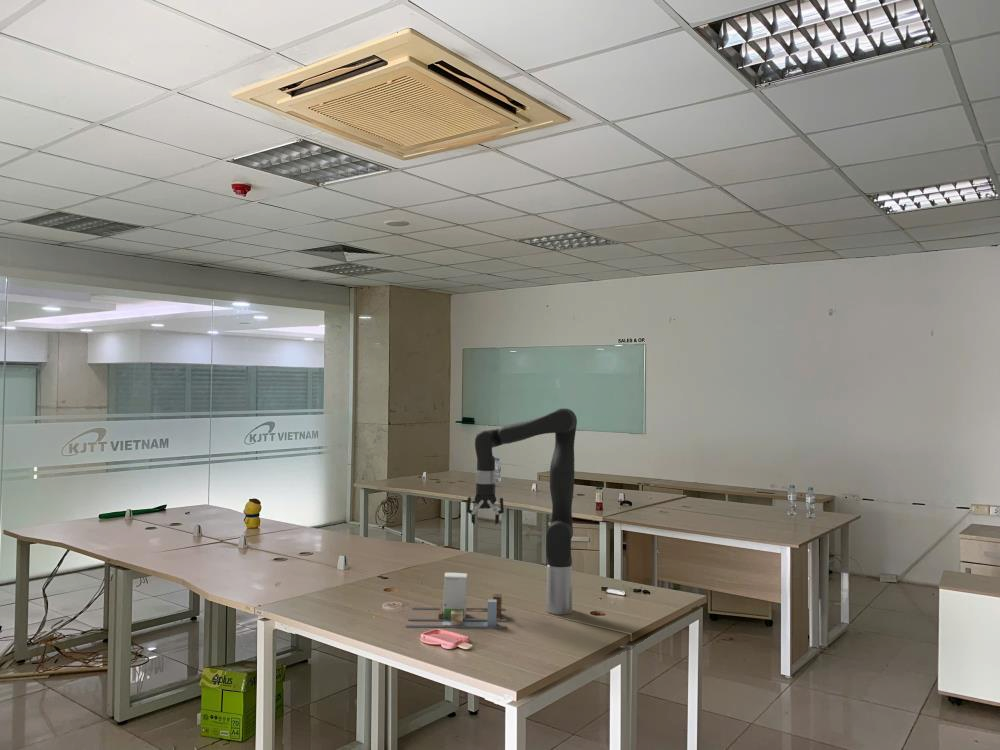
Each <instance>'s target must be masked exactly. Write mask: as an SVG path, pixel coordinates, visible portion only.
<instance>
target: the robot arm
mask: <svg viewBox="0 0 1000 750" xmlns="http://www.w3.org/2000/svg"><path fill="white" fill-rule="evenodd" d="M577 425H578V419H577V415H576V414H575V412H574V411H573V410H571V409H569V408H558V409H556V410H554V411H552V412H549V413H548V414H545V415H543V416H540V417H537V418H534V419H528V420H525V421H524V420H523V421H518V422H515V423H510V424H506V425H504V426H501V427H497V428H493V429H489V430H481V431H479V432H477V433H476V436H475V438H474V449H475V453H476V460H477V461H476V474H475V476H476V477H475V497H473V496H468V497H467V502H466V503H467V504H466V505H467V506H466V513H467V514H468V513H469V514H470V515H471V516H470V517H471V524H472V525H475V524H476V512H477V511H478V510H479V509H481V510H482V509H486V510H490V509H492V511H493V512H494V514H495V516H494V517H495V519H494V524H495V525H498V524H499V523H500V515H501V514H503V513H504V498H503V496H501V497H496V459H495V456H494V455H493V448H496V447H499V446H502V445H508V444H511V443H517V442H520V441H524V440H526V439H530V438H533V437H536V436H539V435H540V436H541V435H544V434H545V435H546V434H554V436H555V437H554V438H555V440H554V441H555V442H554V450H553V453H552V457H551V462H550V467H549V490H550V498H551V503H552V504H551V506H552V507H551V508H552V512H551V521H550V524H549V526H548V528H547V529H546V533H545V550H546V551H545V556H546V610H545V611H546V612H547V613H549V614H550V615H551V614H552V615H569V614H573V586H572V584H573V583H572V580H573V579H572V575H573V572H572V571H573V568H572V567H573V557H572V539H573V535H574V528H573V527H574V526H573V515H572V514H573V512H572V508H573V507H572V506H573V498H574V491H575V489H574V487H575V439H576V431H577ZM474 501H475V503H476V505H475V506H474V508H473V509H471V504H472V503H473V502H474ZM496 502H498V504H499V505H500V507H499V510H498V508H497V507H496V506H495V504H496Z"/></svg>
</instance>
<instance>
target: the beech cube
mask: <svg viewBox="0 0 1000 750" xmlns="http://www.w3.org/2000/svg"><path fill="white" fill-rule="evenodd" d="M463 622H464V621H463V610H452V611H451V625H463Z"/></svg>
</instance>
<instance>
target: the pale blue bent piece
mask: <svg viewBox="0 0 1000 750" xmlns="http://www.w3.org/2000/svg"><path fill="white" fill-rule="evenodd" d="M487 608H488V611H487V619H488V622H469V621H463V625H481V626H497V622H496V619H497V617H496V613H497V600H493V599H490V598H489V599H487ZM441 623H442V624H441V625H451V621H442V622H441Z"/></svg>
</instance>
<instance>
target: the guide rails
mask: <svg viewBox="0 0 1000 750" xmlns="http://www.w3.org/2000/svg"><path fill="white" fill-rule="evenodd" d="M412 610H434V611H435V610H438V611H439V610H440V606H436V607H435V606H433V607H431V606H412ZM466 610H488V607H466ZM501 611H506V608H505V607H501ZM407 621H408V622H443V621H451V619H439V618H424V617H423V618H418V617H417V618H416V617H415V618H412V617H411V618H410V617H409V618H408V620H407ZM463 622H488V618H471V619H463ZM506 622H507V619H506V618H503V619H501V618H500V619H497V618H496V623H506ZM507 627H508V626H507V625H496V626H481V625H442V624H406V625H405V628H432V629H433V628H435V629H436V628H440V629H441V628H442V629H444V628H447V629H448V628H449V629H452V628H453V629H507Z"/></svg>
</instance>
